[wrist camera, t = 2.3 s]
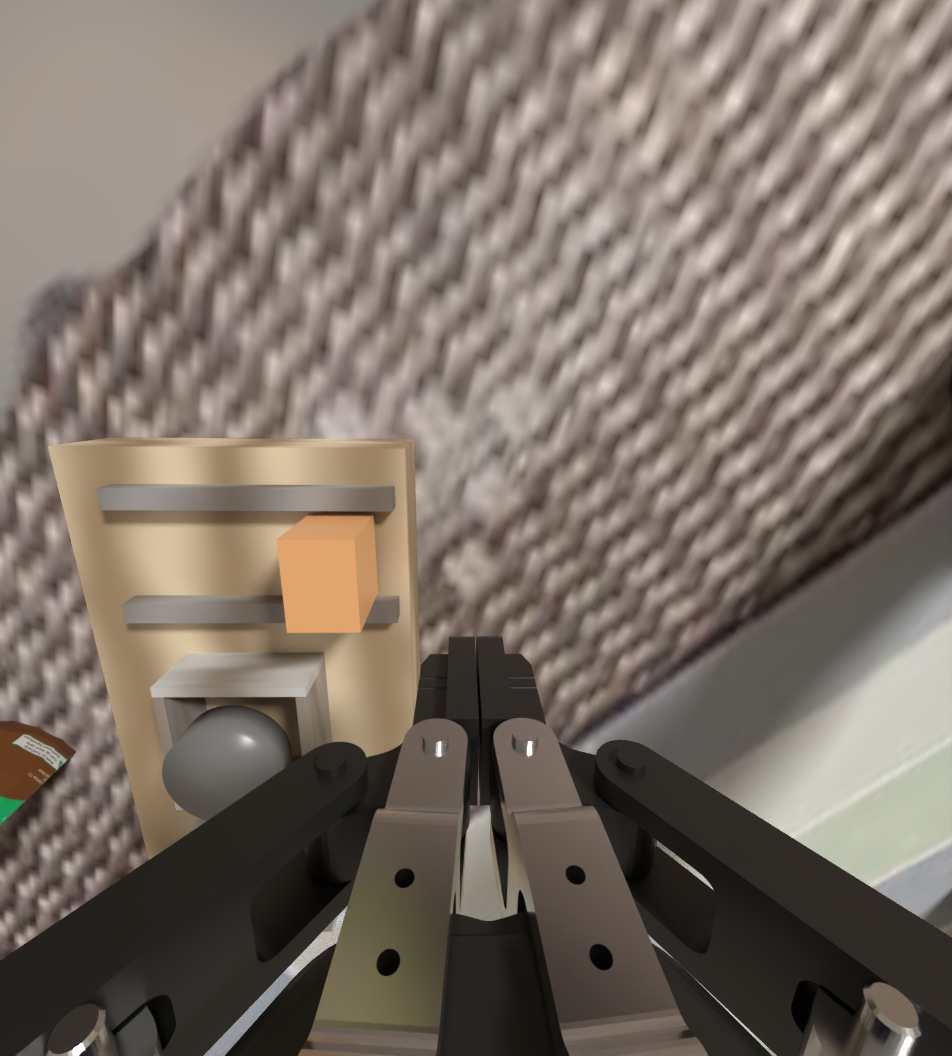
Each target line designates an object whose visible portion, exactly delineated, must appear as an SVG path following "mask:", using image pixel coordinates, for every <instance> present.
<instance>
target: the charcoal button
mask: <svg viewBox="0 0 952 1056" xmlns="http://www.w3.org/2000/svg"><path fill="white" fill-rule="evenodd" d="M291 758H292V749H291V744H290V741H289V738H288V736H287V735H286V733H285V731H284V730H283V728H282V727H281V726H280V725H279V724H278V723H277V722H276V721H275V720H274V719H272V718H271V717H269V716H268V715H266V714H265V713H263V712H261V711H258V710H256V709H253V708H250V707H246V706H240V705H225V706H219V707H215V708H212V709H210V710H207V711H205V712H204V713H202V714H201V715H199V716H198V717H197V718H196V719H195V720H194V721H193V722H192V724H191V725H190V726H189V727H188V728H187V730H186V731H185V732H184V733H183V734H182V736H181V737H180V738H179V739H178V741H177V742H176V743H175V744H174V745H173V747H172V748H171V749H170V750H169V752H168V753H167V755H166V757H165V759H164V762H163V766H162V777H163V782H164V785H165V788H166V790H167V792H168V793H169V795H170V796H171V798H172V799H173V800H174V801H175V803H177V804H178V805H179V806H180V807H181V808H182V809H184V810H185V811H186V812H188V813H190V814H191V815H193V816H195V817H198V818H200V819H203V820H206V821H208V820H209V819H211V818H212V817H214V816H215V815H216V814H218V813H219V812H221V811H222V810H224V809H225V808H227V807H228V806H230V805H231V804H233V803H234V802H236V801H237V800H239V799H240V798H242V797H243V796H245V795H246V794H248V793H249V792H250V791H252V790H253V789H255V788H256V787H258V786H259V785H261V784H262V783H264V782H265V781H267V780H268V779H270V778H271V777H273V776H274V775H276V774H277V773H279V772H280V771H282V770H283V769H284V768H286V767H287V766H289V765H290V763H291Z"/></svg>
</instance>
